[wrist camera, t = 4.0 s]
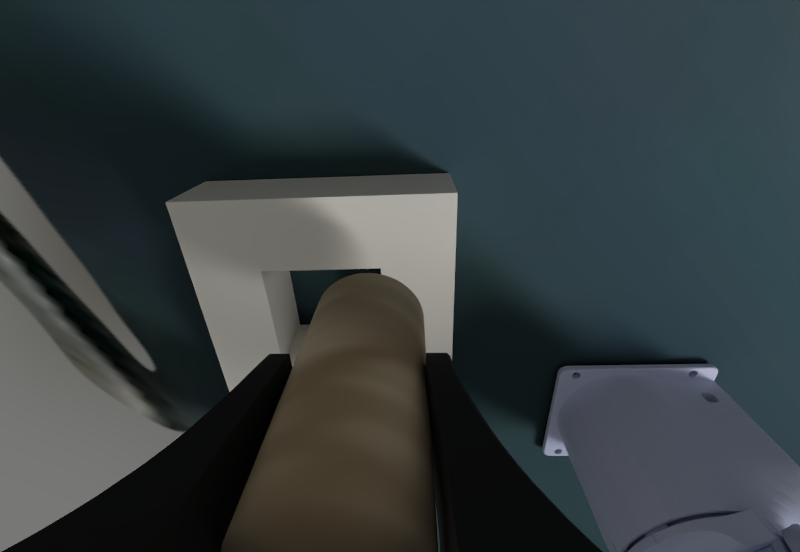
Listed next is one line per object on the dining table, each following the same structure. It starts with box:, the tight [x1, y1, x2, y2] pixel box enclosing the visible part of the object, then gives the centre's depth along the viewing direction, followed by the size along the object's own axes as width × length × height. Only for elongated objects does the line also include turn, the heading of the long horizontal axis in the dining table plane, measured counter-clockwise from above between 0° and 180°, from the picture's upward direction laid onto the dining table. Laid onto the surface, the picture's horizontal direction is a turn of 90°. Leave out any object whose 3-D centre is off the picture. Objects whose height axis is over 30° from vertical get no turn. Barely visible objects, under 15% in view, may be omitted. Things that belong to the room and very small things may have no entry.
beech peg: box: [221, 273, 438, 552], centre depth 11 cm, size 4×4×8 cm
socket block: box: [165, 173, 458, 392], centre depth 20 cm, size 12×12×4 cm
